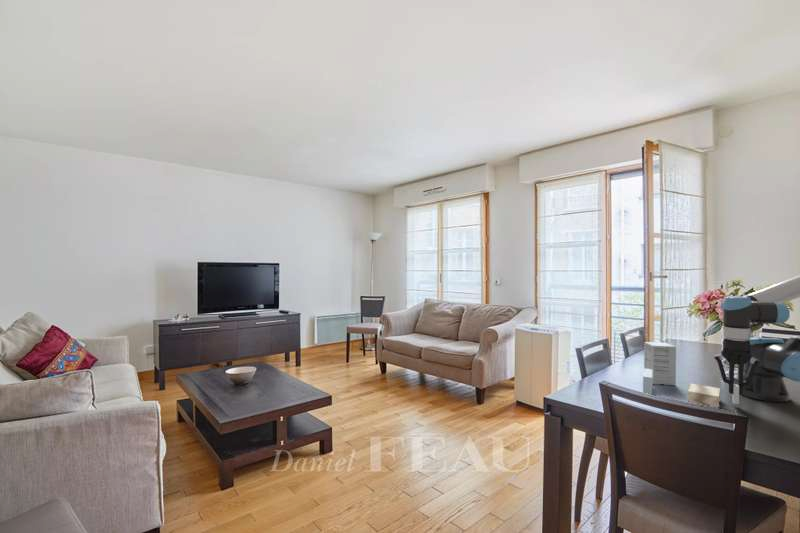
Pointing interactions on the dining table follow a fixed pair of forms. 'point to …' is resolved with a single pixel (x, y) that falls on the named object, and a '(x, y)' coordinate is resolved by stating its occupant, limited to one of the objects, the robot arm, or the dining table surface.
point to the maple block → (704, 395)
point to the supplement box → (661, 362)
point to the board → (647, 380)
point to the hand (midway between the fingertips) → (735, 402)
